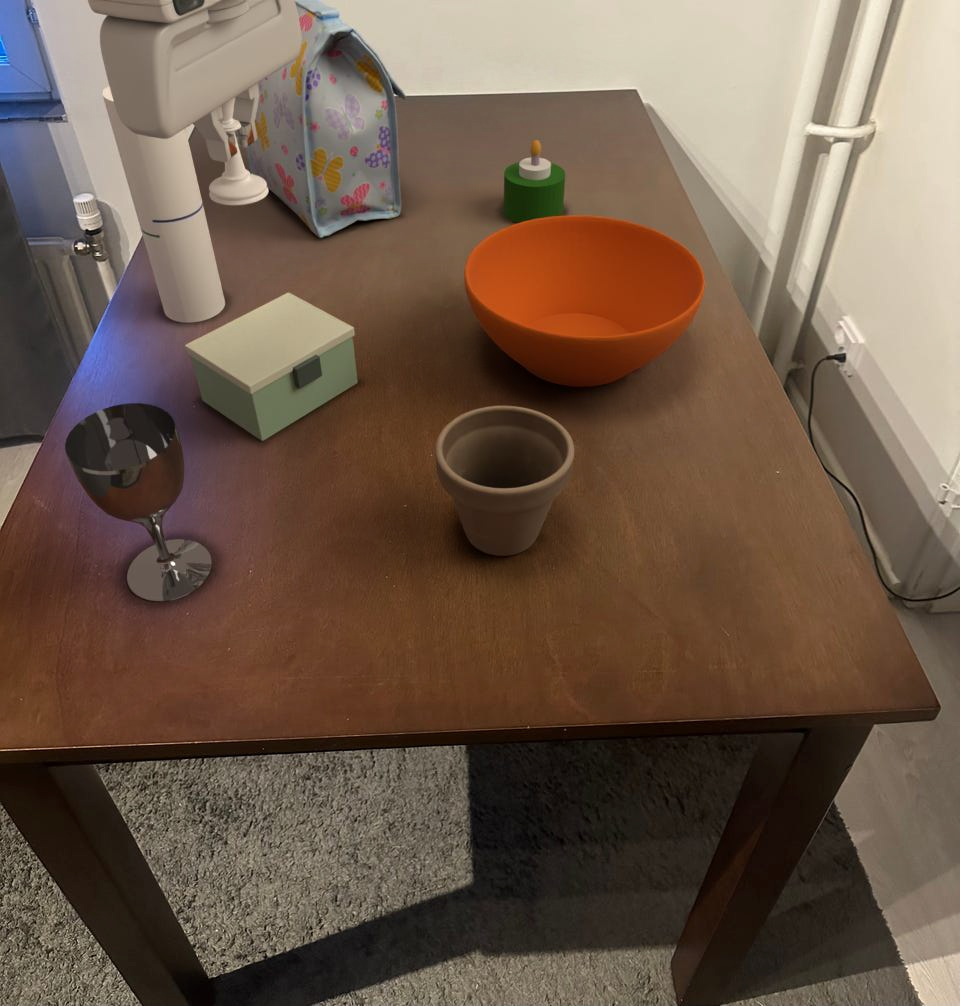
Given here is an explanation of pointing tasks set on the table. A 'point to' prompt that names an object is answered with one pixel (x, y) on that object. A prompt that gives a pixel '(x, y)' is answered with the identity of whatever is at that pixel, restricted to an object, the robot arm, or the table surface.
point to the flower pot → (503, 473)
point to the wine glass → (140, 491)
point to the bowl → (583, 295)
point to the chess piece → (236, 171)
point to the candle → (533, 188)
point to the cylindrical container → (170, 220)
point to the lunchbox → (274, 364)
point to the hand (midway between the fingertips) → (234, 151)
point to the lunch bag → (329, 127)
